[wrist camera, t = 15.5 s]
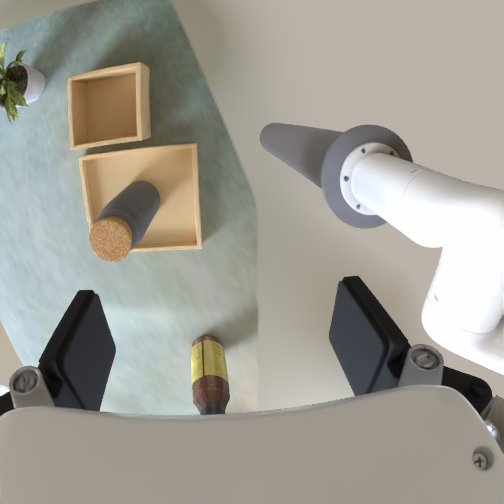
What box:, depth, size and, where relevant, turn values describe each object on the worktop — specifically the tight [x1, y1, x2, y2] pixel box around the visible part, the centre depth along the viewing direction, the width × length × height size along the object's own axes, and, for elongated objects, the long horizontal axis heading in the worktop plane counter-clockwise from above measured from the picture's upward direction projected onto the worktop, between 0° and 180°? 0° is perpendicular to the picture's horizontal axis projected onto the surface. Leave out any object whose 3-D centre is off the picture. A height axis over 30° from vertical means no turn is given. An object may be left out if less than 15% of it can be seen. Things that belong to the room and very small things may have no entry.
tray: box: [79, 143, 202, 252], centre depth 40 cm, size 17×15×2 cm
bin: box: [68, 62, 151, 151], centre depth 32 cm, size 10×10×5 cm
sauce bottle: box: [191, 336, 230, 415], centre depth 46 cm, size 6×6×20 cm
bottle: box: [89, 181, 160, 262], centre depth 34 cm, size 6×6×15 cm
